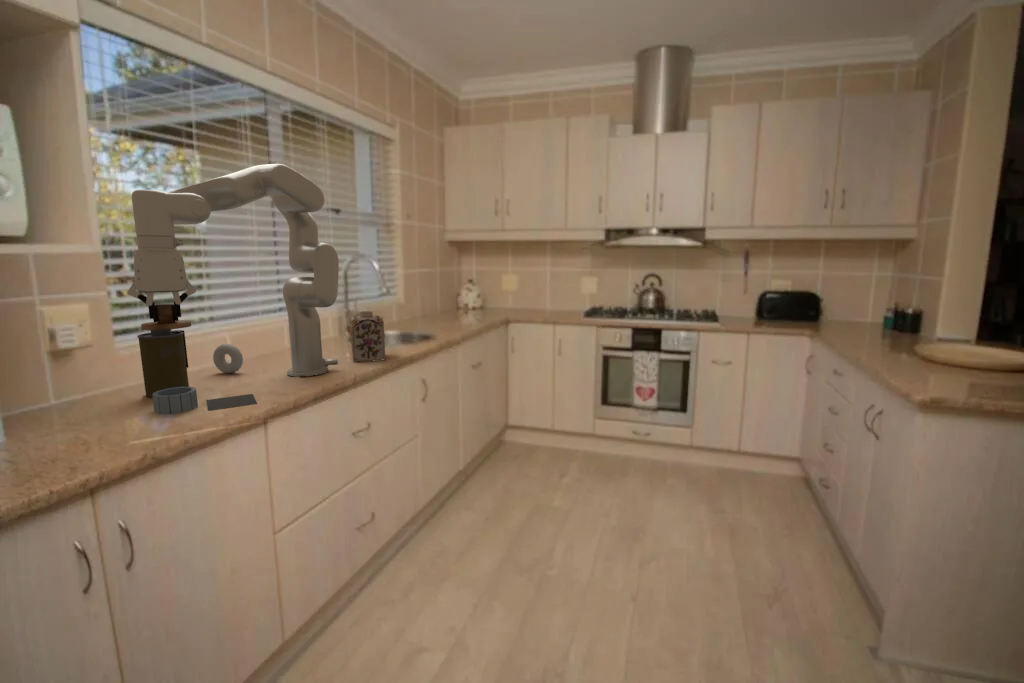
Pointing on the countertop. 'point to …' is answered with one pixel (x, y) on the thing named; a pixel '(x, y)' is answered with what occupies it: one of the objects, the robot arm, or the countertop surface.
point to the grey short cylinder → (175, 400)
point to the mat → (230, 402)
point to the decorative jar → (367, 337)
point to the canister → (163, 360)
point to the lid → (165, 319)
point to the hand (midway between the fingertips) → (166, 320)
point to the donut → (221, 362)
